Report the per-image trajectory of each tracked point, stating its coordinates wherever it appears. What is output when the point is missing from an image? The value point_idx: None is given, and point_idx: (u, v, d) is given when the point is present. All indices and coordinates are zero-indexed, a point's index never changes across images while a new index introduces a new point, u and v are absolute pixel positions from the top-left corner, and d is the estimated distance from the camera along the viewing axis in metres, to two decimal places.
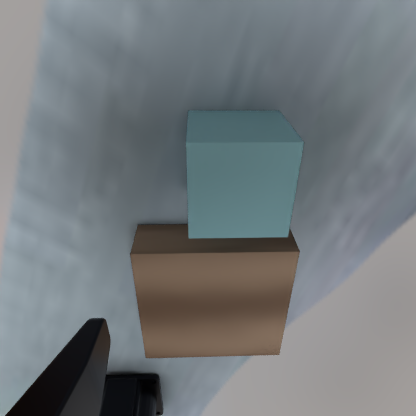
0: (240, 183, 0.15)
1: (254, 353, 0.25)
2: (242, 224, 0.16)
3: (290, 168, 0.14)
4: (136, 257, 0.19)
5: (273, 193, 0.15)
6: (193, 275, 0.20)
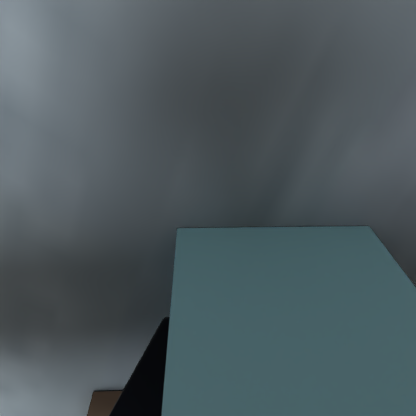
0: None
1: None
2: None
3: None
4: None
5: None
6: None
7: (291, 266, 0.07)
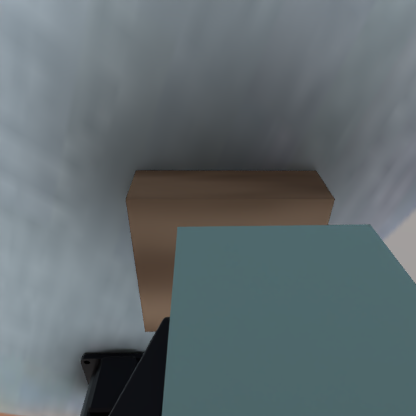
0: None
1: None
2: None
3: None
4: (133, 203, 0.16)
5: None
6: None
7: (292, 265, 0.07)
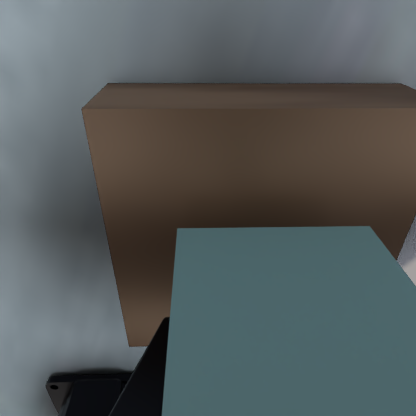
0: None
1: None
2: None
3: None
4: (96, 118, 0.09)
5: None
6: (222, 170, 0.10)
7: (292, 266, 0.07)
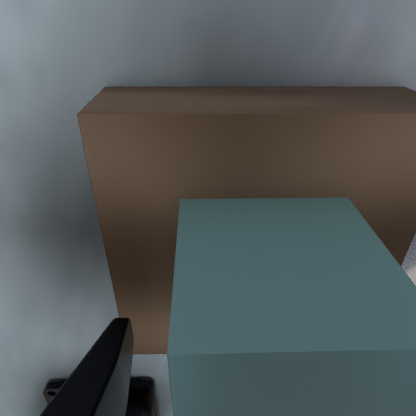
0: (293, 409, 0.07)
1: None
2: None
3: (414, 388, 0.06)
4: (92, 124, 0.08)
5: None
6: (221, 176, 0.09)
7: (278, 227, 0.08)
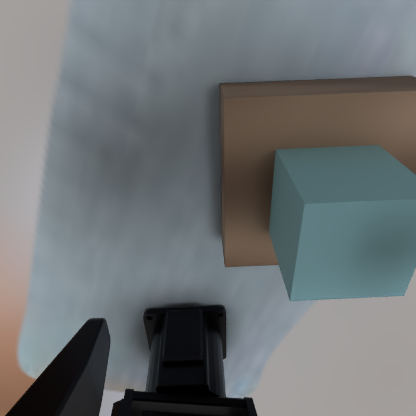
0: (359, 243, 0.13)
1: None
2: (354, 284, 0.14)
3: None
4: (231, 103, 0.15)
5: (395, 253, 0.13)
6: (302, 133, 0.15)
7: (340, 159, 0.15)
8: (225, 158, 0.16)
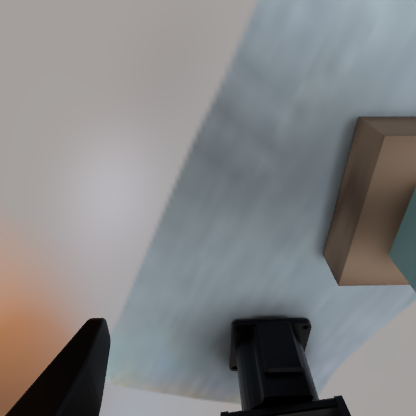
0: None
1: None
2: None
3: None
4: (390, 140, 0.16)
5: None
6: None
7: None
8: (369, 188, 0.17)
